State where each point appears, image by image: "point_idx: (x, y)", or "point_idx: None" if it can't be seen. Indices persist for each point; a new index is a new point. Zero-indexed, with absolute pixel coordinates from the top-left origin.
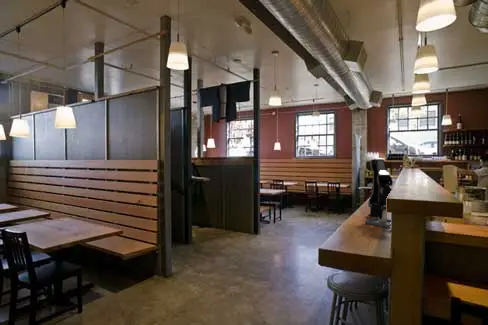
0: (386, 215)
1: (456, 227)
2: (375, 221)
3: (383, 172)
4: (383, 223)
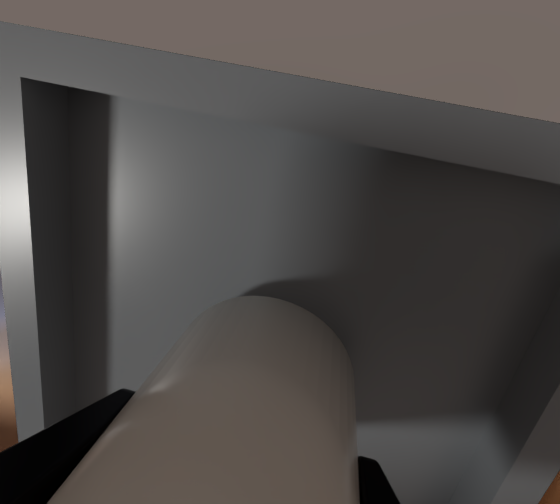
0: (237, 451)
1: None
2: None
3: None
4: None
